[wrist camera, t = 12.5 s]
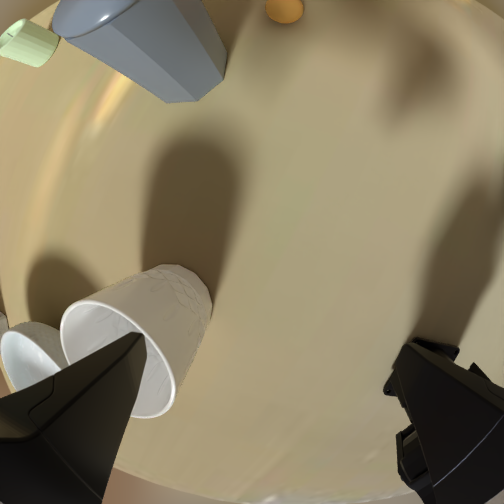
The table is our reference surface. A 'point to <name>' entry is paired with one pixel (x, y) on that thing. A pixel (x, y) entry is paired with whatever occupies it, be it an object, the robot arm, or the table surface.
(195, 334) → the white cup
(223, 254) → the table surface
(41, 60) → the candle
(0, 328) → the skincare box
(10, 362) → the cereal bowl
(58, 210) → the table surface
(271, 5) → the amber ball
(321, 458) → the table surface
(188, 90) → the grey faceted canister
